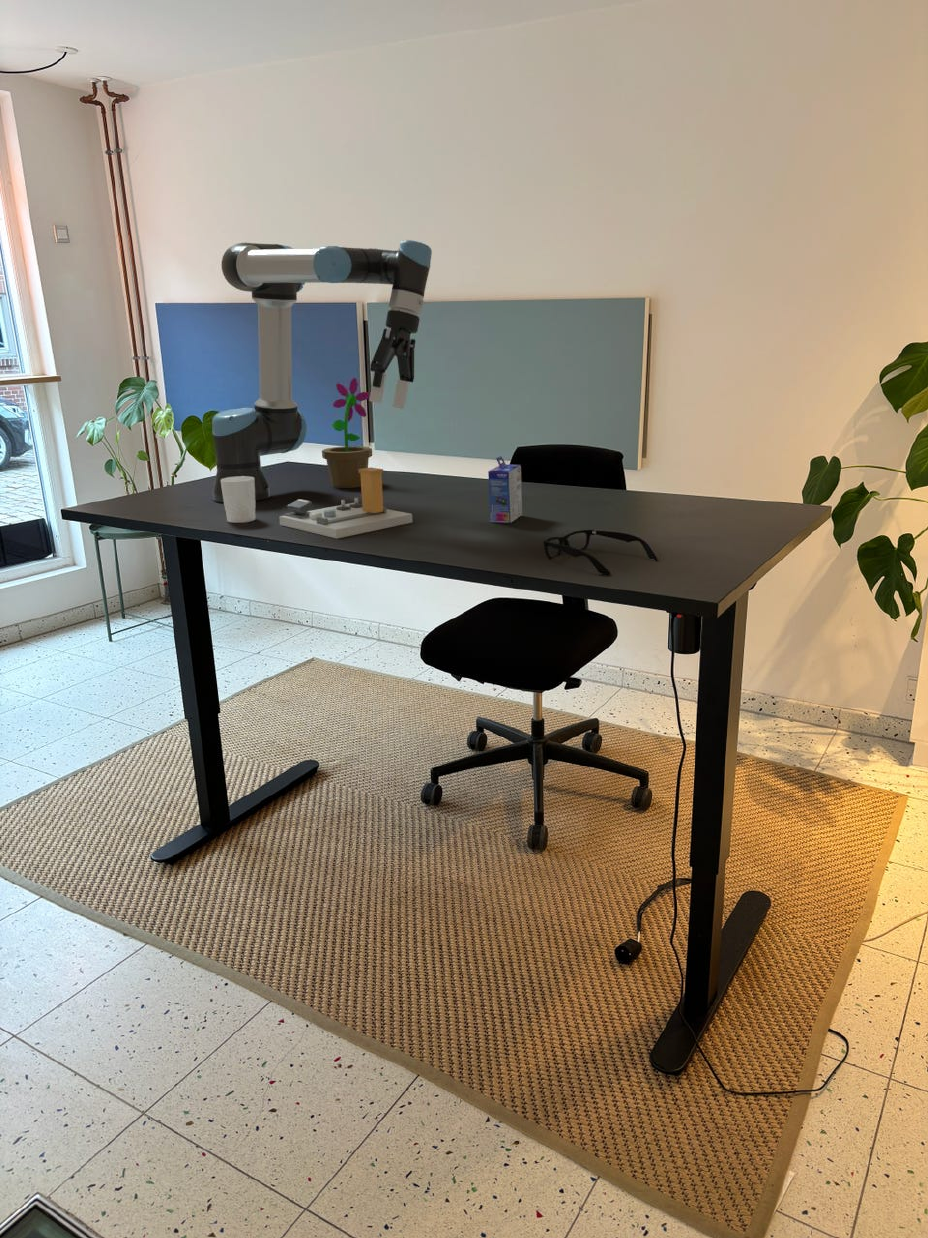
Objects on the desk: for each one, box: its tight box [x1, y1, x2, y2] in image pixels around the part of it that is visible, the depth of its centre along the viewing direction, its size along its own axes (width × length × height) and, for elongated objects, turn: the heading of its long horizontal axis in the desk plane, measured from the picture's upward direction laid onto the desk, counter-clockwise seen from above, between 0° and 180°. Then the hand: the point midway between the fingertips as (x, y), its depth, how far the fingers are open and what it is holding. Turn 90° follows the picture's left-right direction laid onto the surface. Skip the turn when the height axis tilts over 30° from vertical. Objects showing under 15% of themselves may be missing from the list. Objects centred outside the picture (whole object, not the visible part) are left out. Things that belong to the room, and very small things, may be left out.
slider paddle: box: [358, 467, 384, 513], centre depth 213 cm, size 5×4×10 cm
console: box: [279, 497, 413, 539], centre depth 214 cm, size 22×22×4 cm
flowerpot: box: [321, 377, 373, 489], centre depth 262 cm, size 14×14×30 cm
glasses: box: [543, 529, 658, 576], centre depth 177 cm, size 16×18×5 cm
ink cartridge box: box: [487, 456, 523, 524], centre depth 214 cm, size 10×6×14 cm, turn 161°
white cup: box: [221, 476, 256, 524], centre depth 220 cm, size 8×8×10 cm
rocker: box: [286, 498, 314, 513], centre depth 214 cm, size 5×4×2 cm
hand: (386, 405), depth 216 cm, fingers open, 13 cm apart
